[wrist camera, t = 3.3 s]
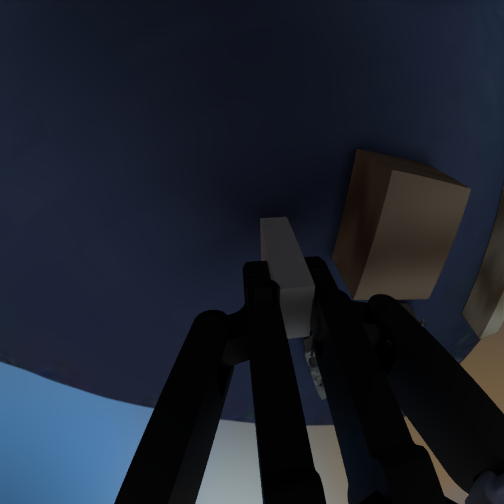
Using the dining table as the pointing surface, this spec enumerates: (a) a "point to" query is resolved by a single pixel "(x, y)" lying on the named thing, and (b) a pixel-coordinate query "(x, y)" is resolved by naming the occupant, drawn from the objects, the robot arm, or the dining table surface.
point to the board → (489, 284)
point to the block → (397, 226)
